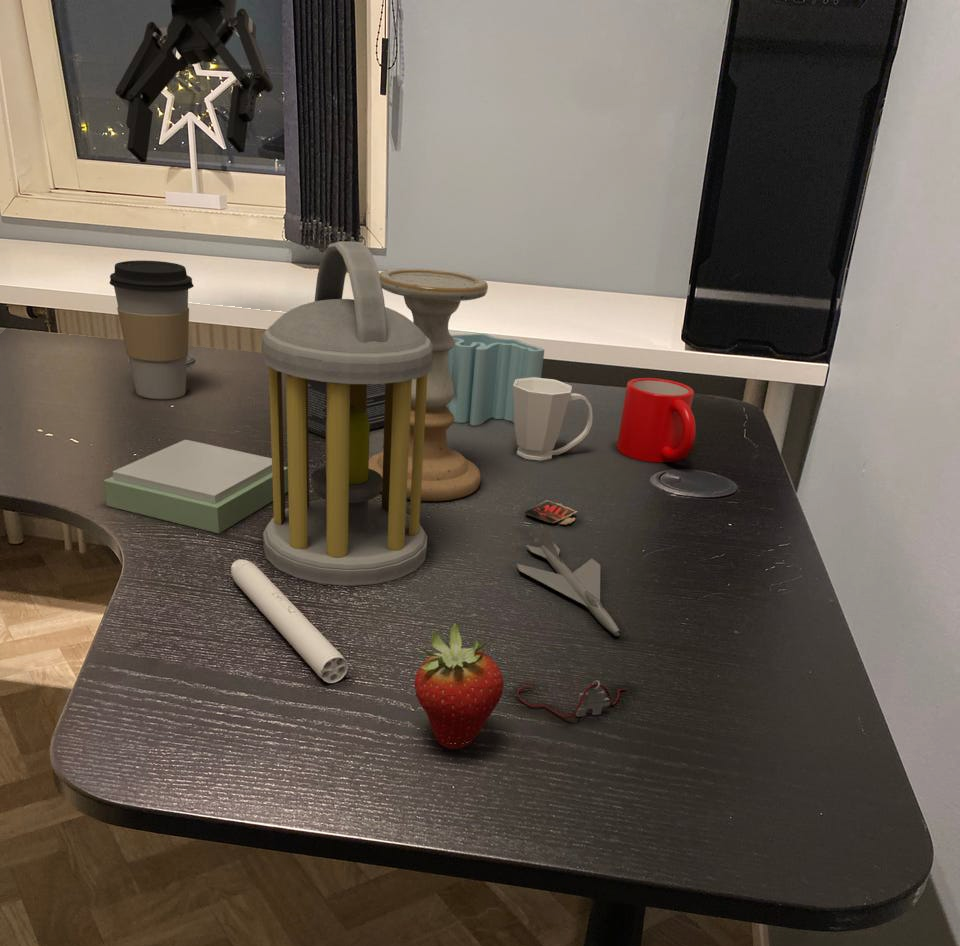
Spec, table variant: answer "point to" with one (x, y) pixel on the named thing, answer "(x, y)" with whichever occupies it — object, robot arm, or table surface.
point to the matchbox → (551, 512)
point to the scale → (194, 485)
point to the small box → (319, 406)
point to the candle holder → (435, 377)
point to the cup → (543, 416)
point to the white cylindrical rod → (290, 622)
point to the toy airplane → (571, 580)
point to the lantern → (346, 430)
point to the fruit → (457, 689)
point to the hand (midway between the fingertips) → (185, 150)
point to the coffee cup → (154, 324)
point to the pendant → (584, 700)
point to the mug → (657, 421)
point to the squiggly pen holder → (489, 375)
